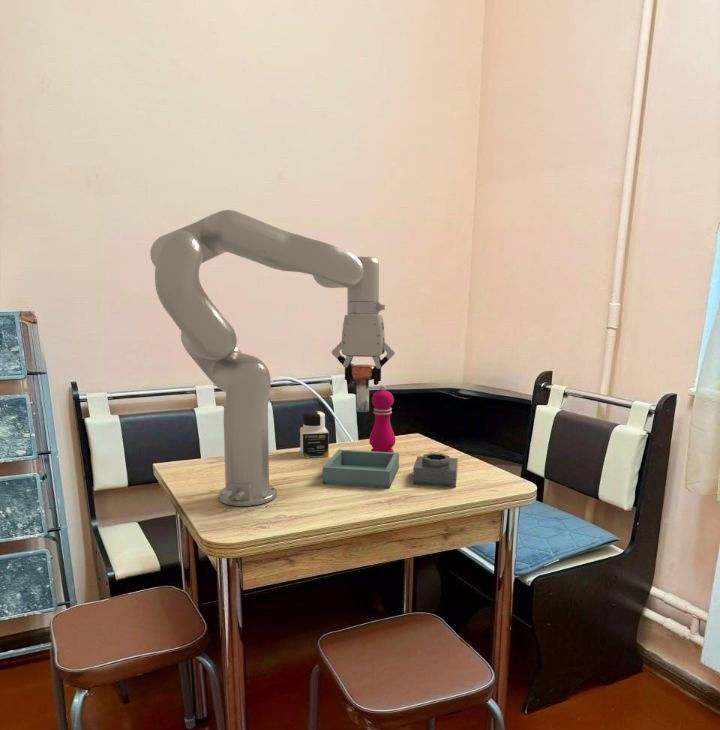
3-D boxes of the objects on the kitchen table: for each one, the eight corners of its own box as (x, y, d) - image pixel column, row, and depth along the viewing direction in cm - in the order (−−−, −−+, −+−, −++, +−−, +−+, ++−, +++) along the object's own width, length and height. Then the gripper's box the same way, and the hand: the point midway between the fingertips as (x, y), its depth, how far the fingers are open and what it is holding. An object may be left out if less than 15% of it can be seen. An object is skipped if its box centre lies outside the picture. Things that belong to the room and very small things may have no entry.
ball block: (455, 487, 136) (456, 464, 135) (412, 484, 138) (413, 461, 137) (457, 474, 145) (457, 452, 145) (417, 471, 147) (417, 450, 147)
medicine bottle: (303, 458, 159) (302, 415, 157) (300, 451, 166) (299, 410, 164) (328, 456, 160) (328, 414, 159) (325, 450, 167) (324, 409, 166)
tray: (389, 488, 135) (389, 471, 134) (322, 483, 138) (322, 467, 137) (398, 467, 150) (399, 452, 150) (338, 464, 153) (338, 449, 153)
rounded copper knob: (377, 408, 144) (377, 364, 143) (372, 413, 139) (372, 368, 137) (353, 407, 146) (353, 364, 144) (348, 412, 140) (348, 367, 138)
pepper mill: (399, 454, 162) (400, 384, 160) (387, 461, 156) (387, 387, 154) (377, 451, 166) (378, 382, 164) (364, 457, 160) (364, 385, 158)
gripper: (401, 309, 141) (400, 382, 143) (332, 308, 144) (332, 380, 147) (396, 310, 134) (395, 387, 136) (324, 309, 137) (324, 384, 139)
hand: (362, 383), depth 141 cm, fingers closed on rounded copper knob, 6 cm apart
